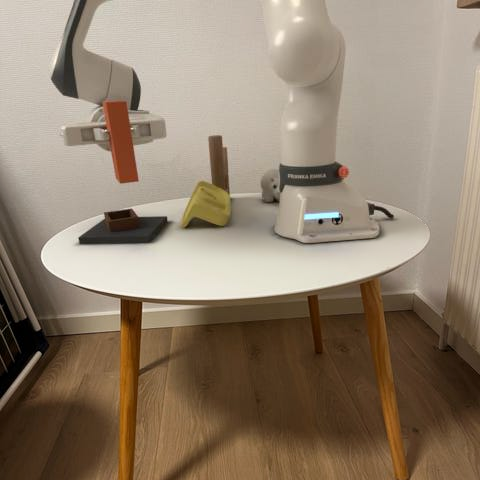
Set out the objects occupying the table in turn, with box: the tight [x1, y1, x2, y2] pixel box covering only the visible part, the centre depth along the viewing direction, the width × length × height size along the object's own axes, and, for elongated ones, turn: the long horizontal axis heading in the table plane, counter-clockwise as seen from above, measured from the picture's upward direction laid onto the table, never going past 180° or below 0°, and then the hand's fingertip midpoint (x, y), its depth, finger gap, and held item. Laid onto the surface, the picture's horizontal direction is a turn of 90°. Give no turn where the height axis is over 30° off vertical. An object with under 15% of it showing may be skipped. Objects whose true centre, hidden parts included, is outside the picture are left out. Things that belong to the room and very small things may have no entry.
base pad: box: [77, 207, 169, 245], centre depth 100 cm, size 16×16×4 cm
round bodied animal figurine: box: [260, 168, 280, 203], centre depth 117 cm, size 7×12×8 cm, turn 5°
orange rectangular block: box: [102, 101, 140, 185], centre depth 82 cm, size 6×4×14 cm, turn 22°
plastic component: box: [179, 180, 232, 228], centre depth 108 cm, size 20×7×10 cm
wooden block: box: [207, 134, 231, 196], centre depth 117 cm, size 4×11×18 cm, turn 175°
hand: (120, 134), depth 81 cm, fingers closed on orange rectangular block, 3 cm apart
